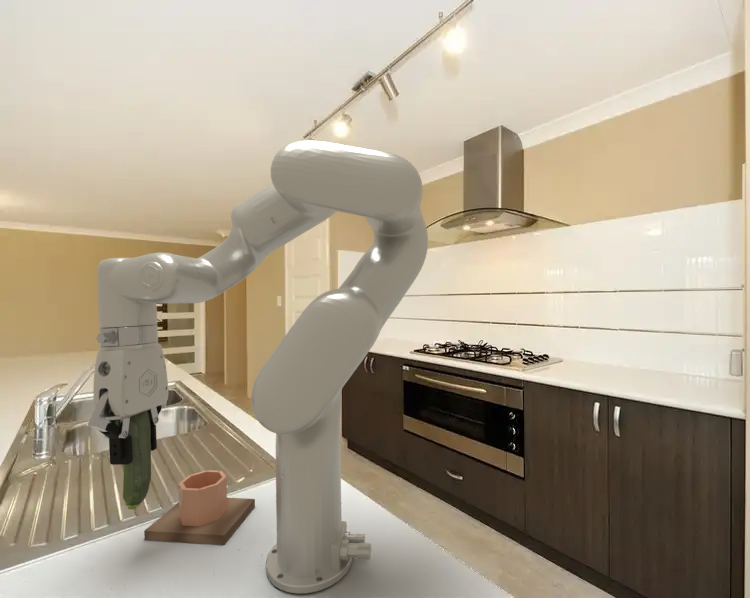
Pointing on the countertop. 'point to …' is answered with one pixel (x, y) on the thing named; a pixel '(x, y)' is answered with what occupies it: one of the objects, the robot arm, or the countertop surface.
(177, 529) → the stand
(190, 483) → the cup
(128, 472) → the vegetable
